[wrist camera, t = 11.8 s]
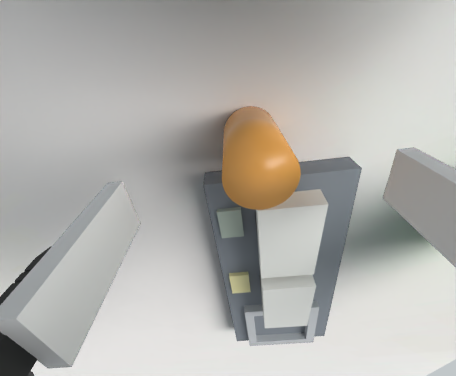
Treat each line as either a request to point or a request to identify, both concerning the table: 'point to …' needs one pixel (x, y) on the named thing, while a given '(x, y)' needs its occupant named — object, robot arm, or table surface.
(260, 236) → the block
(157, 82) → the table surface
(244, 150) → the pin
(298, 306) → the breaker
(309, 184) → the panel
